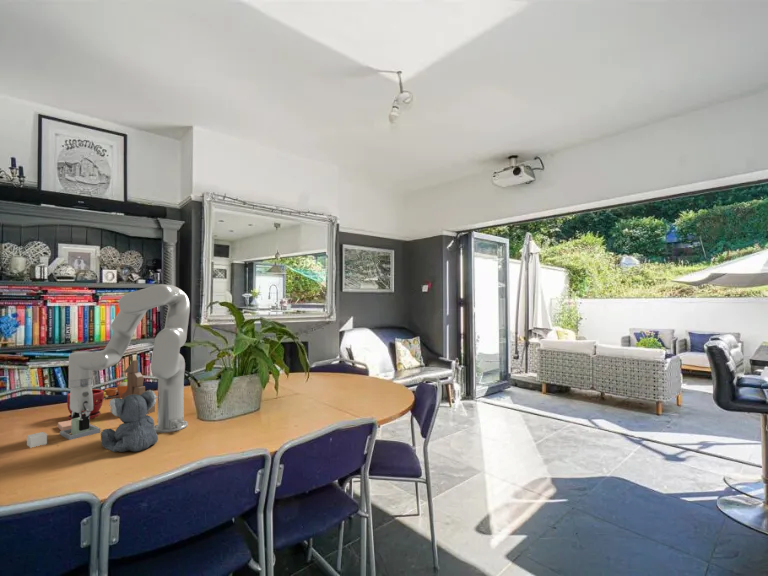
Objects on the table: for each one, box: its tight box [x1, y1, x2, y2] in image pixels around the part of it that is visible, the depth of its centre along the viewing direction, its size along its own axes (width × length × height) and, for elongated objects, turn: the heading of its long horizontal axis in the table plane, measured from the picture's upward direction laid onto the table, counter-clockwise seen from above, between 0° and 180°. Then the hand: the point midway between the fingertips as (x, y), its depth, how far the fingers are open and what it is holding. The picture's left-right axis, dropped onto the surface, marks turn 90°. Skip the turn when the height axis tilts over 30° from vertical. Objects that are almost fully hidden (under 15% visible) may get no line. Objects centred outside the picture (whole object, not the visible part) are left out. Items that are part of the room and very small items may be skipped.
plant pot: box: [66, 388, 104, 421], centre depth 174 cm, size 13×13×12 cm
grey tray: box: [59, 423, 101, 441], centre depth 152 cm, size 10×10×2 cm
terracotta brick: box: [57, 419, 71, 431], centre depth 158 cm, size 9×4×3 cm, turn 50°
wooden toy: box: [121, 359, 156, 415], centre depth 182 cm, size 16×7×25 cm, turn 71°
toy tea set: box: [92, 379, 127, 401], centre depth 212 cm, size 26×16×10 cm, turn 121°
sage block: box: [70, 417, 91, 435], centre depth 152 cm, size 4×4×6 cm
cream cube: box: [26, 431, 48, 449], centre depth 140 cm, size 4×4×4 cm
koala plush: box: [100, 389, 159, 453], centre depth 140 cm, size 17×18×20 cm
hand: (80, 427), depth 152 cm, fingers open, 6 cm apart
